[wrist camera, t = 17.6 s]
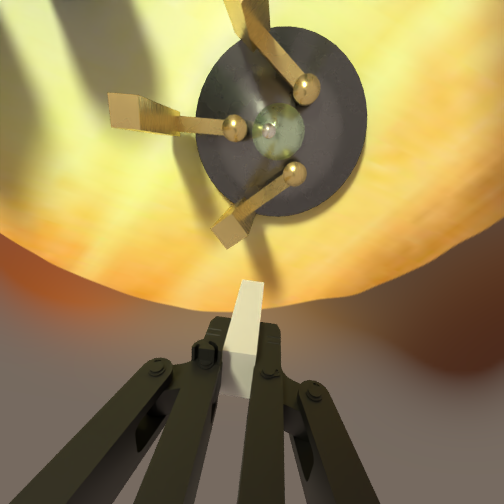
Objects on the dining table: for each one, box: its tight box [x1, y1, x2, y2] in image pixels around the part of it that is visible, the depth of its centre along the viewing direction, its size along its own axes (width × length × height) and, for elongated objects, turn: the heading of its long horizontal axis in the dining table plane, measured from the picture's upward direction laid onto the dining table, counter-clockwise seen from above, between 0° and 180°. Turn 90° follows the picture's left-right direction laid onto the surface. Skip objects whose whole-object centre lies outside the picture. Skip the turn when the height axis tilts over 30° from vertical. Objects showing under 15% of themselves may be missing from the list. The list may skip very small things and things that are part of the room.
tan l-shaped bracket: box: [223, 0, 320, 106], centre depth 22 cm, size 11×3×10 cm, turn 47°
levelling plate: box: [196, 27, 367, 216], centre depth 30 cm, size 20×20×2 cm
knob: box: [107, 92, 248, 142], centre depth 25 cm, size 11×3×10 cm, turn 85°
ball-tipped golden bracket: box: [211, 162, 307, 249], centre depth 28 cm, size 11×3×10 cm, turn 126°
